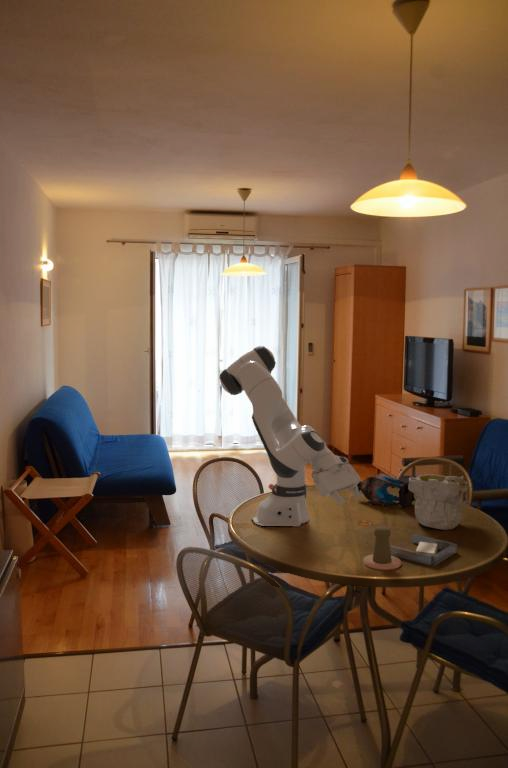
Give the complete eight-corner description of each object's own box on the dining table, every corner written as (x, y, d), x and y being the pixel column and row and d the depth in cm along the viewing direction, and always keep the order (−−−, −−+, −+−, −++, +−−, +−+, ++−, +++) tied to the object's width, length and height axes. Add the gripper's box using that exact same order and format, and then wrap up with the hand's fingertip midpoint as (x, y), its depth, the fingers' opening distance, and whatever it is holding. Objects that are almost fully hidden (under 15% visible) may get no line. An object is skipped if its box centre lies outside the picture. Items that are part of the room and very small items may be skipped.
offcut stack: (414, 560, 215) (415, 551, 214) (419, 549, 225) (419, 541, 225) (433, 563, 213) (433, 554, 212) (437, 552, 223) (437, 543, 222)
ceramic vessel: (411, 488, 271) (449, 447, 260) (453, 533, 261) (495, 492, 250) (385, 499, 254) (425, 455, 242) (430, 548, 243) (474, 504, 232)
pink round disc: (372, 571, 204) (372, 569, 204) (357, 557, 216) (357, 555, 216) (407, 568, 207) (407, 565, 207) (391, 554, 219) (391, 552, 219)
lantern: (410, 521, 275) (354, 509, 288) (420, 488, 282) (365, 477, 295) (403, 504, 263) (345, 492, 276) (413, 469, 271) (357, 459, 283)
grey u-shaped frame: (389, 554, 219) (389, 546, 219) (413, 541, 231) (413, 533, 231) (433, 566, 208) (433, 557, 208) (456, 552, 221) (456, 543, 221)
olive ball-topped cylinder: (391, 564, 208) (392, 530, 207) (372, 563, 209) (372, 529, 208) (391, 557, 214) (392, 525, 213) (372, 556, 215) (373, 523, 214)
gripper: (314, 466, 214) (339, 501, 208) (349, 456, 229) (372, 488, 224) (303, 477, 217) (327, 512, 212) (338, 467, 232) (361, 499, 227)
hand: (351, 500), depth 218 cm, fingers open, 8 cm apart
